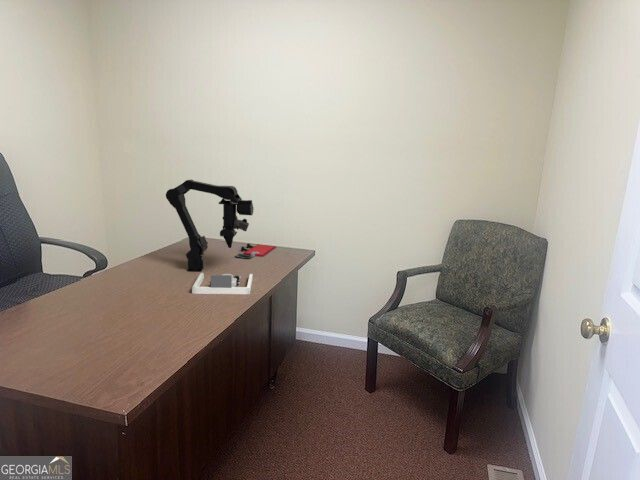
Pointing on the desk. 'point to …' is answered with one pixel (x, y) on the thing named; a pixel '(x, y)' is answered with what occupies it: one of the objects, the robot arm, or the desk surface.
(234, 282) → the robot toy
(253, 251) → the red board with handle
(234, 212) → the robot arm
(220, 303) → the desk surface
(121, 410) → the desk surface
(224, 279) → the frame
